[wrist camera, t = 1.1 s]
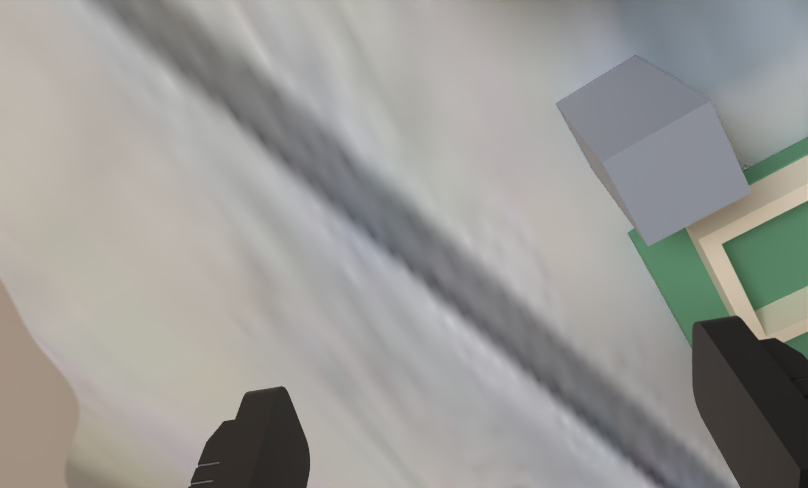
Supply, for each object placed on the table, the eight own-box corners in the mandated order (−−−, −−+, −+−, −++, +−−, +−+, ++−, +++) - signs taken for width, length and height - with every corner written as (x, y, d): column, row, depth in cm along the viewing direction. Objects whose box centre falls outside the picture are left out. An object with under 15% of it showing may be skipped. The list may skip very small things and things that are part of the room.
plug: (635, 55, 28) (710, 100, 21) (677, 141, 30) (759, 209, 23) (555, 103, 29) (601, 162, 22) (600, 184, 31) (656, 262, 24)
